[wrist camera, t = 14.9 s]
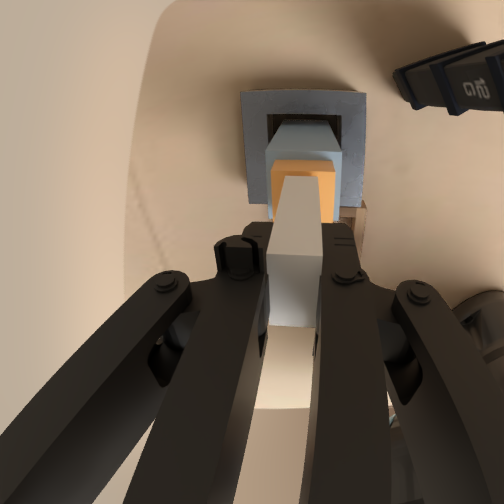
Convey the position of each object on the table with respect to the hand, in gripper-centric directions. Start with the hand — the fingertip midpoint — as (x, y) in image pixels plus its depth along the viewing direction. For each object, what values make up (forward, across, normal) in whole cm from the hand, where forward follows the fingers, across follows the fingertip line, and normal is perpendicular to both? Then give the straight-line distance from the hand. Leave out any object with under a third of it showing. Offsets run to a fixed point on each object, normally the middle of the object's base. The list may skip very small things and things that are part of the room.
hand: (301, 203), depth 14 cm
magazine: (+16, -15, -9) cm, 23 cm away
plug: (+15, 0, 0) cm, 15 cm away
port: (+15, 0, 0) cm, 15 cm away
